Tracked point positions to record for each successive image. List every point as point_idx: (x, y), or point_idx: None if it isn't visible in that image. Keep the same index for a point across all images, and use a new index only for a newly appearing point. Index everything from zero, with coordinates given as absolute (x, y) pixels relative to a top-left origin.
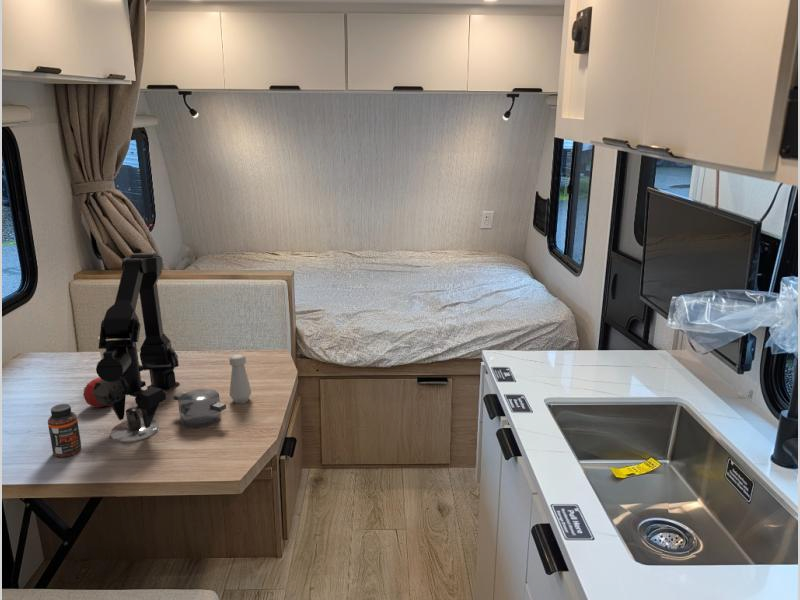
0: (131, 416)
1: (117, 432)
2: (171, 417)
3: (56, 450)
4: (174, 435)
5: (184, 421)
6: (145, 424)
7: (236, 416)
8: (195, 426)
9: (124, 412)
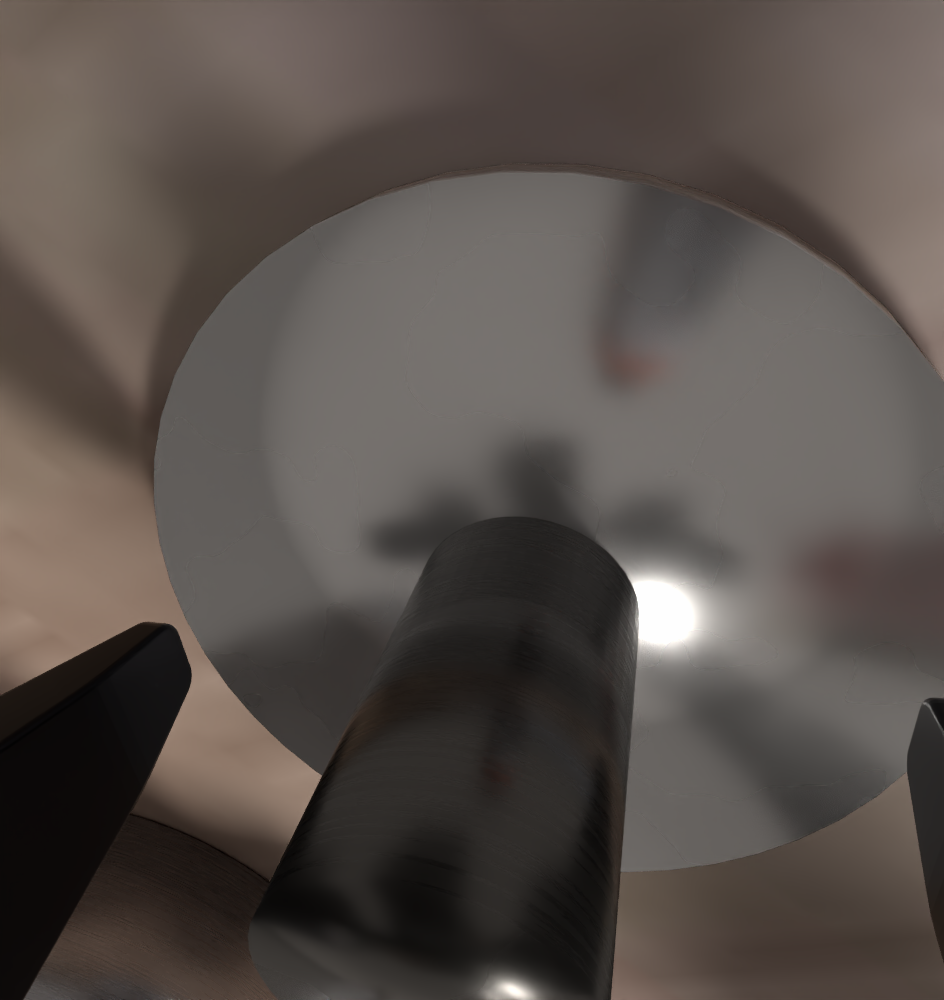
0: (334, 781)
1: (707, 374)
2: None
3: None
4: (4, 651)
5: None
6: (76, 664)
7: None
8: None
9: (932, 917)
